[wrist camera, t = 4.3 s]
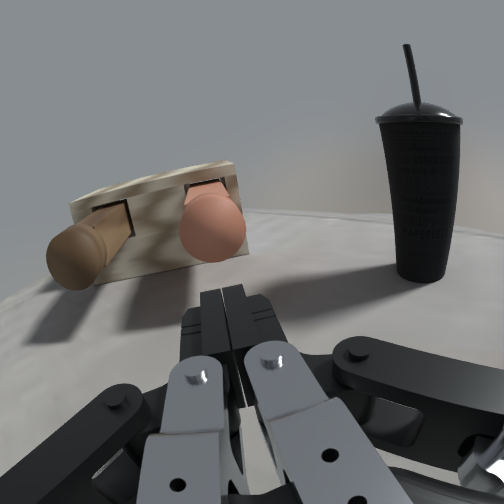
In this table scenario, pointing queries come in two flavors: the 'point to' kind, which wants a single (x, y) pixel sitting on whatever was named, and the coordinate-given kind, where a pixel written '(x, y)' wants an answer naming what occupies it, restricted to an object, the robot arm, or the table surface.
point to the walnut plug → (89, 245)
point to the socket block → (155, 219)
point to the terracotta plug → (211, 223)
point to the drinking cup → (421, 181)
